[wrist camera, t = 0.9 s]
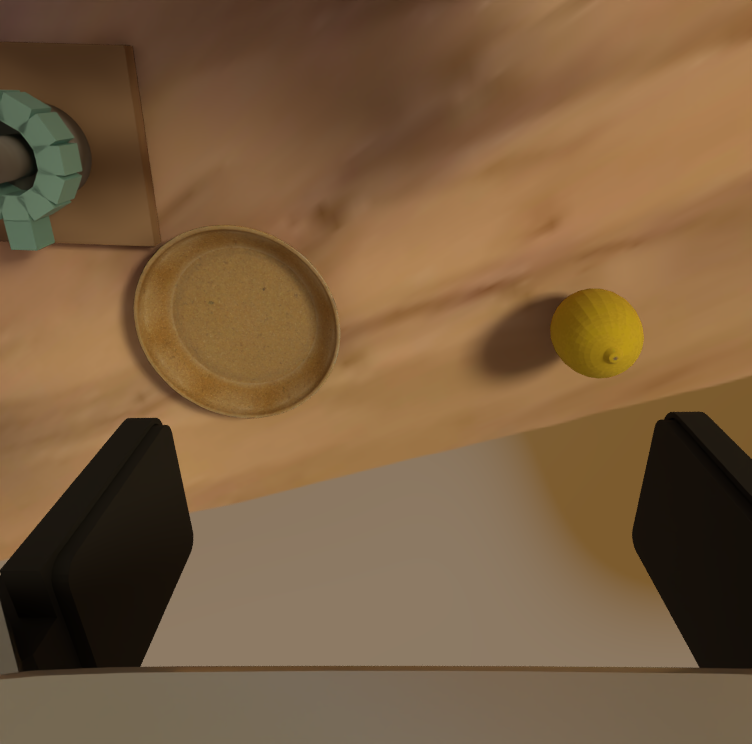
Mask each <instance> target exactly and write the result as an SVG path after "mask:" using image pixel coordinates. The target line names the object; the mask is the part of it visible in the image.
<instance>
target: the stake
mask: <svg viewBox="0 0 752 744" xmlns="http://www.w3.org/2000/svg"><path fill="white" fill-rule="evenodd" d="M0 90H20V92H26V93H28V94H29V95H31V96H33V97H35V98H36V99H38V100H40V101H41V102H43V103H45V104H46V105H48V106H50V107H51V112H57V114H58V115H59V116H60V118H61V119H62V121H63V122H64V123H65V125H66V126H67V128H68V129H69V130H70V132H71V133H72V135H73V136H74V137H75V138H73V139H72V140H70V141H69V142H67V143H77V145H78V150H79V156H80V161H81V166H82V171H80V172H77V173H78V174H80V175H81V176H82V178H81V181H80V184H79V187H78V189H77V192H76V195H75V198H74V199H72V200H70V201H71V203H69V204H68V205H66V206H65V207H63V208H62V209H60V210H59V211H57V212H55V213H54V214H52V215H49V218H50V222H51V227H52V231H53V235H54V240H55V243H71V244H99V245H128V246H156V245H158V244H159V243H161V238H160V231H159V224H158V217H157V211H156V204H155V197H154V190H153V183H152V176H151V170H150V163H149V156H148V149H147V142H146V135H145V129H144V122H143V115H142V108H141V101H140V94H139V87H138V81H137V74H136V67H135V60H134V53H133V46H126V45H100V44H64V43H28V42H0ZM37 172H38V167H37V163H36V159H35V155H34V150H33V149H32V147H31V146H30V145H29V144H28V142H27V141H26V140H25V138H24V137H23V136H22V134H21V133H20V132H19V131H17V130H16V129H14V128H12V127H10V126H9V125H7V124H5V123H3V122H2V121H0V183H5V182H9V183H11V184H12V185H14V186H16V187H18V188H20V189H21V190H29V189H31V188H32V187H33V185H34V182H35V179H36V175H37ZM0 241H9V239H8V235H7V231H6V228H5V224H4V220H3V219H0Z"/></svg>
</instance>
